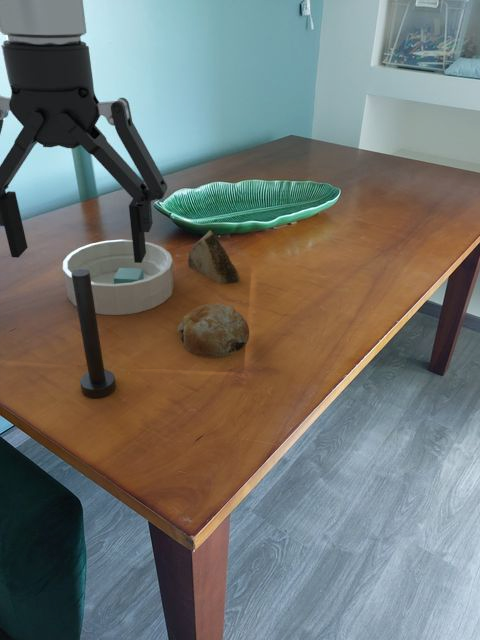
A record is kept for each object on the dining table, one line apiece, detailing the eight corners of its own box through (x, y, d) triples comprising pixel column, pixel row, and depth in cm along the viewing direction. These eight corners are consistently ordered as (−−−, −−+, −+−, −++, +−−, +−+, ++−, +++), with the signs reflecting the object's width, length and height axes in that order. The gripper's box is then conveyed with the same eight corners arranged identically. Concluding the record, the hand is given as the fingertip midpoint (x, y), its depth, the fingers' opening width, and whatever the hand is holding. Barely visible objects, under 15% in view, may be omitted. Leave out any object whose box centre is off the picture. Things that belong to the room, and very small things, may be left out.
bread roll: (210, 385, 78) (231, 353, 73) (160, 339, 79) (176, 304, 74) (248, 354, 85) (269, 322, 80) (201, 312, 86) (218, 278, 81)
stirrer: (77, 397, 69) (54, 280, 59) (87, 377, 73) (67, 263, 63) (111, 399, 69) (94, 282, 59) (119, 378, 73) (104, 265, 63)
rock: (171, 256, 100) (181, 272, 91) (197, 217, 98) (209, 230, 90) (217, 284, 105) (231, 302, 97) (242, 248, 104) (258, 263, 95)
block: (116, 300, 88) (113, 278, 86) (121, 288, 92) (119, 267, 89) (140, 301, 89) (138, 279, 86) (144, 289, 92) (143, 268, 90)
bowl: (53, 316, 85) (46, 282, 81) (85, 267, 99) (81, 237, 96) (164, 322, 85) (162, 288, 82) (180, 272, 100) (179, 242, 96)
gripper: (187, 41, 52) (194, 246, 64) (-73, 28, 51) (-16, 237, 63) (176, 49, 45) (186, 274, 57) (-120, 35, 45) (-47, 264, 57)
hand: (80, 255), depth 60 cm, fingers open, 13 cm apart
